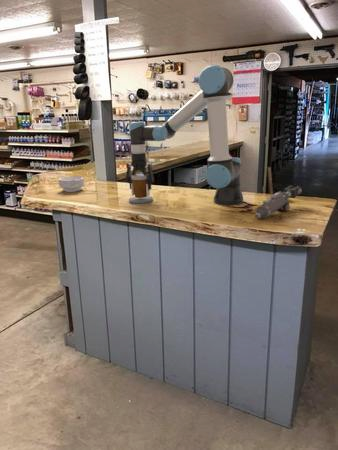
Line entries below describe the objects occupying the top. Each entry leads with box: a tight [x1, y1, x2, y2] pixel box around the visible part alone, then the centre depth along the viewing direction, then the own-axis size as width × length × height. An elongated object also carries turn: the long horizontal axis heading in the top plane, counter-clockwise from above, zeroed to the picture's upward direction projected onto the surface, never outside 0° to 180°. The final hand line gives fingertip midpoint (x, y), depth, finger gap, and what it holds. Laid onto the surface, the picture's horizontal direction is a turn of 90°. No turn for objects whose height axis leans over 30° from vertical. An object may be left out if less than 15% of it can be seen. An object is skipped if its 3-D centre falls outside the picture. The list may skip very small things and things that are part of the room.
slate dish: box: [128, 196, 154, 205], centre depth 199 cm, size 13×13×1 cm
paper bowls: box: [58, 176, 85, 193], centre depth 231 cm, size 15×15×8 cm
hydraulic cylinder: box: [254, 185, 302, 220], centre depth 170 cm, size 7×37×10 cm, turn 136°
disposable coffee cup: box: [130, 172, 149, 198], centre depth 197 cm, size 10×10×12 cm
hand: (140, 195), depth 199 cm, fingers closed on disposable coffee cup, 8 cm apart
